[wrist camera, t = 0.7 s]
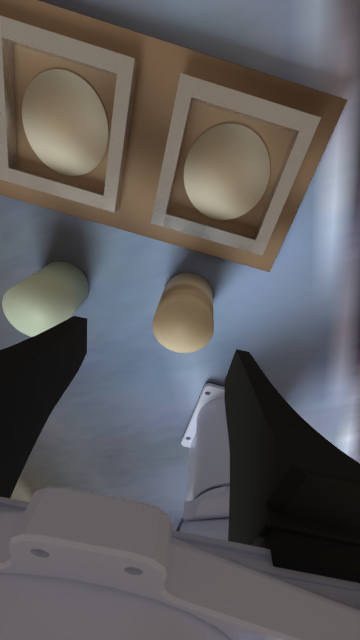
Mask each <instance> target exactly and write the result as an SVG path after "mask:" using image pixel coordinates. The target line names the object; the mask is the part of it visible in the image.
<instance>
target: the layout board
mask: <svg viewBox="0 0 360 640" xmlns="http://www.w3.org/2000/svg"><path fill="white" fill-rule="evenodd" d="M346 102H347V100H345V99H342V98H339V97H336V96H333V95H330V94H327V93H324V92H321V91H318V90H314V89H311V88H308V87H305V86H302V85H299V84H296V83H293V82H290V81H287V80H284V79H280V78H277V77H274V76H271V75H268V74H265V73H262V72H259V71H256V70H253V69H249V68H246V67H243V66H240V65H237V64H234V63H231V62H228V61H225V60H222V59H218V58H215V57H212V56H209V55H206V54H203V53H200V52H197V51H194V50H191V49H188V48H184V47H181V46H178V45H175V44H172V43H169V42H166V41H163V40H160V39H157V38H153V37H150V36H147V35H144V34H141V33H138V32H135V31H132V30H129V29H126V28H122V27H119V26H116V25H113V24H110V23H107V22H104V21H101V20H98V19H95V18H92V17H88V16H85V15H82V14H79V13H76V12H73V11H70V10H67V9H64V8H61V7H57V6H54V5H51V4H48V3H45V2H42V1H39V0H0V195H3V196H7V197H10V198H14V199H17V200H21V201H24V202H28V203H31V204H35V205H38V206H42V207H45V208H49V209H52V210H56V211H59V212H62V213H66V214H69V215H73V216H76V217H80V218H83V219H87V220H90V221H94V222H97V223H101V224H104V225H108V226H111V227H115V228H118V229H122V230H125V231H128V232H132V233H135V234H139V235H142V236H146V237H149V238H153V239H156V240H160V241H163V242H167V243H170V244H174V245H177V246H181V247H184V248H188V249H191V250H194V251H198V252H201V253H205V254H208V255H212V256H215V257H219V258H222V259H226V260H229V261H233V262H236V263H240V264H243V265H247V266H250V267H254V268H257V269H260V270H264V271H267V272H270V270H271V268H272V266H273V263H274V261H275V259H276V257H277V254H278V252H279V250H280V248H281V246H282V243H283V241H284V239H285V237H286V235H287V232H288V230H289V228H290V226H291V223H292V221H293V219H294V217H295V215H296V212H297V210H298V208H299V206H300V204H301V201H302V199H303V197H304V195H305V192H306V190H307V188H308V186H309V184H310V181H311V179H312V177H313V175H314V173H315V170H316V168H317V166H318V164H319V161H320V159H321V157H322V155H323V153H324V150H325V148H326V146H327V144H328V142H329V139H330V137H331V135H332V133H333V130H334V128H335V126H336V124H337V122H338V119H339V117H340V115H341V113H342V111H343V108H344V106H345V104H346Z"/></svg>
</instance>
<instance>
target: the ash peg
mask: <svg viewBox="0 0 360 640" xmlns="http://www.w3.org/2000/svg"><path fill="white" fill-rule="evenodd" d="M213 331H214V321H213V292H212V288H211V286H210V284H209V283H208V281H207V280H206V279H204V278H203V277H202V276H200V275H198V274H195V273H189V272H187V273H180V274H177V275H175V276H174V277H172V278H171V279H170V280H169V281H168V282H167V284H166V286H165V288H164V291H163V294H162V297H161V299H160V302H159V305H158V308H157V310H156V313H155V316H154V319H153V332H154V334H155V337H156V338H157V340H158V341H159V342H160V343H161V344H162V345H163V346H164V347H166V348H168V349H170V350H172V351H175V352H179V353H190V352H194V351H197V350H199V349H201V348H203V347H204V346H205V345H207V343H208V342H209V341H210V339H211V337H212V335H213Z"/></svg>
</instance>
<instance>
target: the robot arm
mask: <svg viewBox="0 0 360 640" xmlns="http://www.w3.org/2000/svg"><path fill="white" fill-rule="evenodd" d="M86 353H87V319H86V318H81V317H76V316H74V317H71V318H69V319H67V320H65V321H63V322H61V323H60V324H58V325H56V326H54V327H52V328H50V329H48V330H46V331H44V332H42V333H40V334H38V335H36V336H33V337H31V338H29V339H27V340H25V341H22V342H20V343H18V344H15V345H13V346H10V347H8V348H5V349H2V350H0V640H360V464H359V463H358V462H356V461H355V460H354V459H352V458H351V457H349V456H348V455H346V454H345V453H343V452H342V451H341V450H339V449H338V448H337V447H335V446H334V445H333V444H332V443H330V442H329V441H328V440H326V439H325V438H324V437H323V436H322V435H320V434H319V433H318V432H317V431H316V430H315V429H313V428H312V427H311V426H310V425H309V424H308V423H307V422H306V421H305V420H303V419H302V418H301V417H300V416H299V415H298V414H297V413H296V412H295V411H294V410H293V408H292V407H291V406H290V405H289V404H288V403H287V402H286V401H285V400H284V399H283V397H282V396H281V395H280V394H279V393H278V391H277V390H276V389H275V388H274V387H273V385H272V384H271V383H270V381H269V380H268V379H267V377H266V376H265V374H264V373H263V372H262V370H261V369H260V367H259V366H258V364H257V363H256V361H255V360H254V359H253V357H252V356H251V354H250V353H249V352H246V351H242V350H237V349H236V352H235V354H234V357H233V360H232V363H231V366H230V368H229V371H228V374H227V377H226V379H225V387H222V386H219V385H215V384H211V383H207V384H205V386H204V388H203V390H202V393H201V395H200V397H199V400H198V402H197V405H196V407H195V409H194V412H193V414H192V417H191V419H190V421H189V424H188V426H187V429H186V431H185V433H184V436H183V438H182V442H181V444H182V445H183V446H185V447H189V448H190V450H189V464H188V478H187V493H186V502H184V514H183V518H177V519H175V520H174V522H173V523H172V525H171V519H170V517H169V516H168V515H167V514H166V513H165V512H164V511H162V510H161V509H160V508H159V507H157V506H154V505H151V504H148V503H145V502H142V501H137V500H131V499H126V498H121V497H116V496H111V495H106V494H101V493H96V492H91V491H86V490H80V489H75V488H70V487H62V486H49V487H46V488H43V489H41V490H38V491H36V492H35V493H34V494H33V496H32V498H31V500H30V502H25V501H20V500H15V499H10V497H11V495H12V493H13V490H14V488H15V486H16V483H17V481H18V479H19V477H20V474H21V472H22V470H23V468H24V466H25V463H26V461H27V459H28V457H29V455H30V453H31V451H32V449H33V447H34V445H35V443H36V441H37V438H38V436H39V434H40V432H41V431H42V429H43V427H44V425H45V423H46V421H47V419H48V417H49V415H50V414H51V412H52V410H53V409H54V407H55V405H56V404H57V402H58V401H59V399H60V398H61V396H62V395H63V393H64V392H65V390H66V389H67V387H68V386H69V384H70V383H71V381H72V380H73V378H74V376H75V375H76V373H77V372H78V370H79V368H80V366H81V364H82V362H83V360H84V357H85V355H86ZM207 391H209V392H207Z"/></svg>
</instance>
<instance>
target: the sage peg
mask: <svg viewBox="0 0 360 640" xmlns="http://www.w3.org/2000/svg"><path fill="white" fill-rule="evenodd" d="M88 294H89V284H88V281H87V279H86V277H85V275H84V274H83V273H82V271H81V270H80V269H79V268H77V267H76V266H74V265H73V264H70V263H68V262H64V261H56V262H52V263H50V264H48V265H47V266H45V267H44V268H42V269H40V270H39V271H37V272H36V273H34V274H32V275H31V276H29V277H28V278H26V279H25V280H23V281H21V282H20V283H18V284H17V285H15V286H14V287H12V288H10V289H9V290H8V291H7V292H6V293H5V295H4V297H3V301H2V306H3V311H4V313H5V316H6V317H7V319H8V320H9V322H10V323H11V324H12V325H13V326H14V327H15V328H16V329H17V330H19V331H20V332H22V333H24V334H26V335H28V336H31V337H33V336H36V335H38V334H40V333H42V332H44V331H46V330H48V329H50V328H52V327H54V326H56V325H58V324H60V323H61V322H63V321H65V320H67V319H69V318H70V317H71V316H72V315H73V313H74V312H75V311H76V310H77V309H78V308H79V307H80V306H81V305H82V303H83V302H84V301H85V300H86V299H87V297H88Z"/></svg>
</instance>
